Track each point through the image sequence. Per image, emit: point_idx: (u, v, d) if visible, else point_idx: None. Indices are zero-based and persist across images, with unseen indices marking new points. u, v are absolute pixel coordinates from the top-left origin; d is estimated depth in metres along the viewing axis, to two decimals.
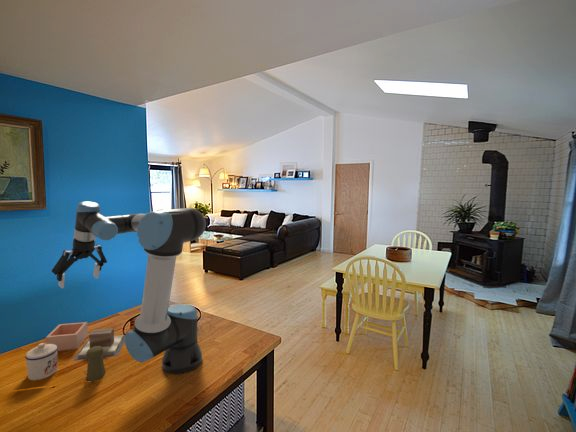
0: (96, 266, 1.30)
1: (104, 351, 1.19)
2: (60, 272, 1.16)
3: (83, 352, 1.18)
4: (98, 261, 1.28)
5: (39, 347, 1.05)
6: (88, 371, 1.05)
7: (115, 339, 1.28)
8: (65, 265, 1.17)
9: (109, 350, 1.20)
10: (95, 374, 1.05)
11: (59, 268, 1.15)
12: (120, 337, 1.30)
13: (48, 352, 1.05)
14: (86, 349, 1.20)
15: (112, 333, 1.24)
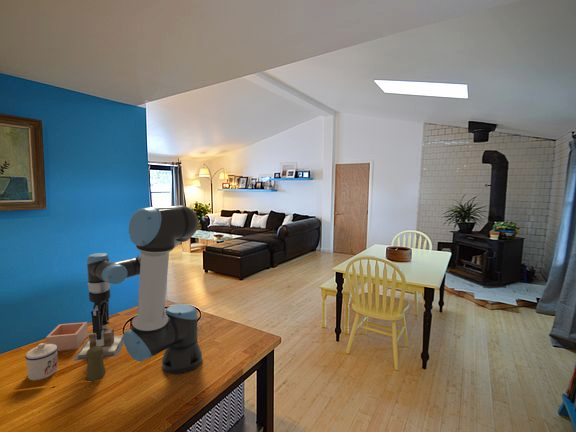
0: (103, 327, 1.25)
1: (104, 351, 1.19)
2: (100, 330, 1.20)
3: (83, 352, 1.18)
4: (106, 318, 1.26)
5: (39, 347, 1.05)
6: (88, 371, 1.05)
7: (115, 339, 1.28)
8: None
9: (109, 350, 1.20)
10: (95, 374, 1.05)
11: (99, 326, 1.18)
12: (120, 337, 1.30)
13: (48, 352, 1.05)
14: (86, 349, 1.20)
15: (112, 333, 1.24)
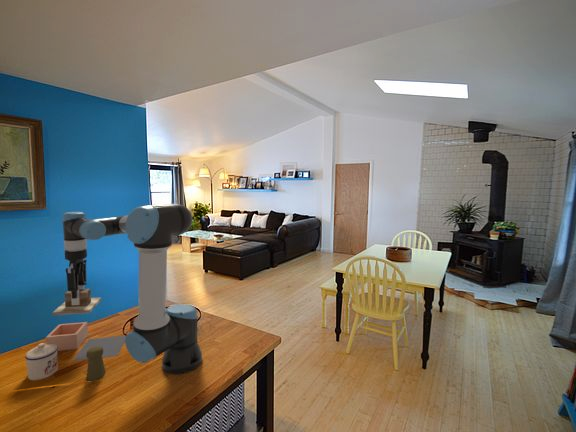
0: (79, 287, 1.25)
1: (79, 310, 1.19)
2: (76, 289, 1.19)
3: (58, 310, 1.18)
4: (83, 278, 1.25)
5: (39, 347, 1.05)
6: (88, 371, 1.05)
7: (92, 300, 1.28)
8: None
9: (84, 309, 1.20)
10: (95, 374, 1.05)
11: (74, 284, 1.18)
12: (97, 299, 1.29)
13: (48, 352, 1.05)
14: (61, 308, 1.20)
15: (88, 293, 1.24)
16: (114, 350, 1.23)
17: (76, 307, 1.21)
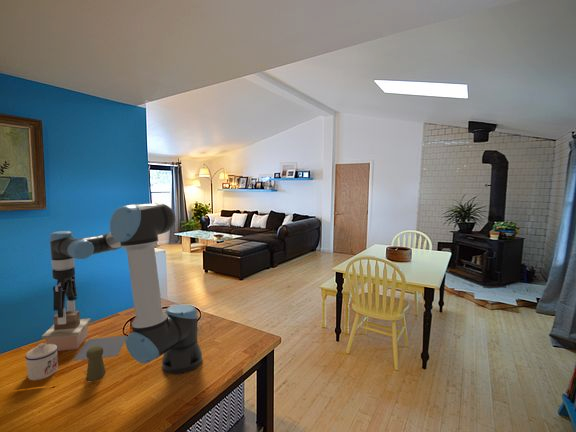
0: (70, 302, 1.28)
1: (68, 332, 1.21)
2: (62, 307, 1.19)
3: (47, 333, 1.19)
4: (73, 294, 1.28)
5: (39, 347, 1.05)
6: (88, 371, 1.05)
7: (81, 322, 1.29)
8: None
9: (73, 332, 1.21)
10: (95, 374, 1.05)
11: (61, 303, 1.18)
12: (87, 320, 1.31)
13: (48, 352, 1.05)
14: (50, 331, 1.21)
15: (77, 315, 1.26)
16: (114, 350, 1.23)
17: (65, 330, 1.23)
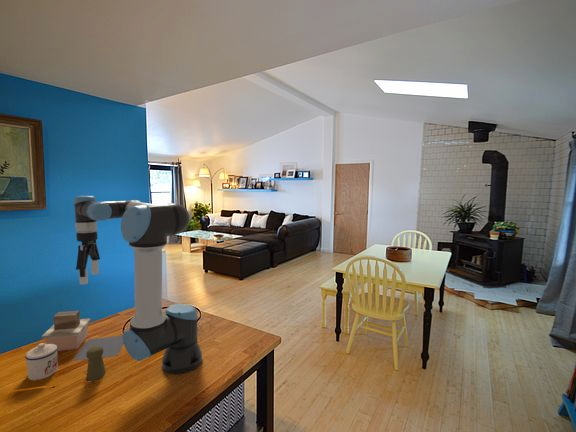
0: (94, 262, 1.34)
1: (68, 332, 1.21)
2: (84, 266, 1.20)
3: (47, 333, 1.19)
4: (96, 255, 1.34)
5: (39, 347, 1.05)
6: (88, 371, 1.05)
7: (81, 322, 1.29)
8: None
9: (73, 332, 1.21)
10: (95, 374, 1.05)
11: (84, 262, 1.19)
12: (87, 320, 1.31)
13: (48, 352, 1.05)
14: (50, 331, 1.21)
15: (77, 315, 1.26)
16: (114, 350, 1.23)
17: (65, 330, 1.23)
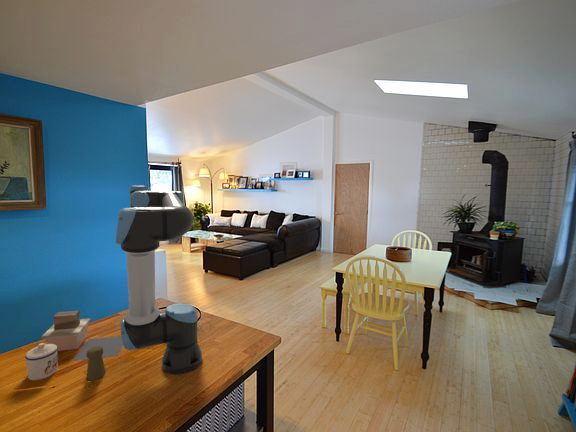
0: None
1: (68, 332, 1.21)
2: None
3: (47, 333, 1.19)
4: None
5: (39, 347, 1.05)
6: (88, 371, 1.05)
7: (81, 322, 1.29)
8: None
9: (73, 332, 1.21)
10: (95, 374, 1.05)
11: None
12: (87, 320, 1.31)
13: (48, 352, 1.05)
14: (50, 331, 1.21)
15: (77, 315, 1.26)
16: (114, 350, 1.23)
17: (65, 330, 1.23)
